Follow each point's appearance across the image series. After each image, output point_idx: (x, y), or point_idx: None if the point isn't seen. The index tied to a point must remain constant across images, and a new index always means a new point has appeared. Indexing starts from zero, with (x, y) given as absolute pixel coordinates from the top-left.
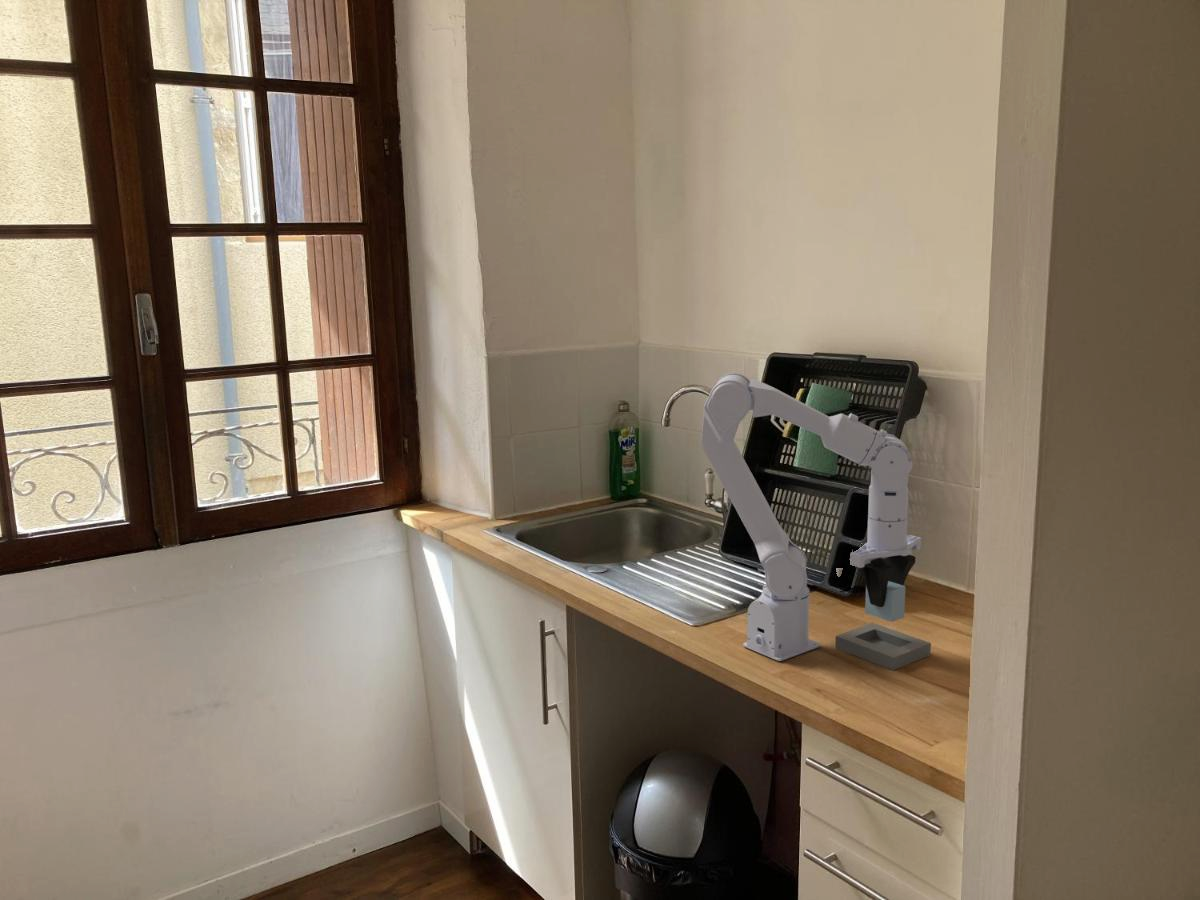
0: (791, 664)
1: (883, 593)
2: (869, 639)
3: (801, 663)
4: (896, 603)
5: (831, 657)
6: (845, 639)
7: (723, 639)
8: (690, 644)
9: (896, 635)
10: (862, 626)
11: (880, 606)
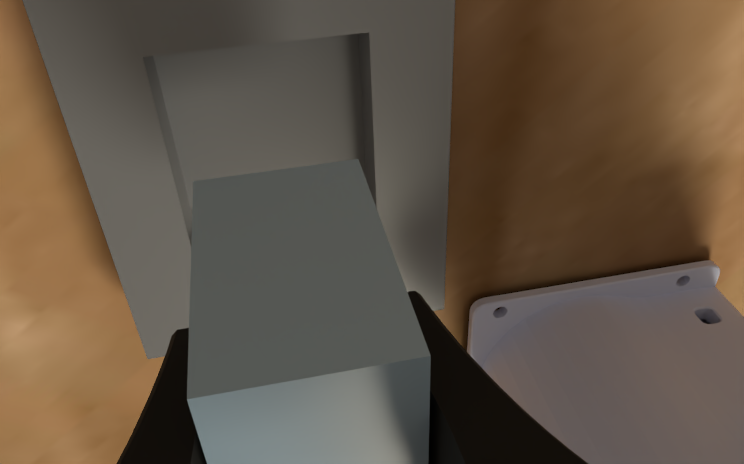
0: (697, 225)
1: (467, 370)
2: None
3: (664, 215)
4: (328, 256)
5: (524, 204)
6: (445, 261)
7: None
8: None
9: (157, 182)
10: None
11: (421, 296)
